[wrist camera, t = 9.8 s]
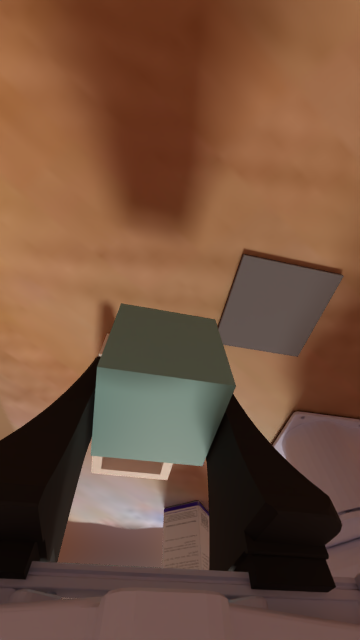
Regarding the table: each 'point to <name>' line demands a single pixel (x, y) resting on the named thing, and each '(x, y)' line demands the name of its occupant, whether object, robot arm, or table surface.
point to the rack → (129, 462)
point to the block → (160, 387)
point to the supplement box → (186, 537)
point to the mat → (275, 305)
